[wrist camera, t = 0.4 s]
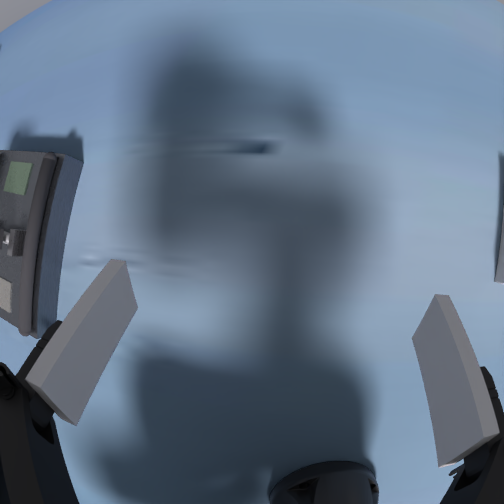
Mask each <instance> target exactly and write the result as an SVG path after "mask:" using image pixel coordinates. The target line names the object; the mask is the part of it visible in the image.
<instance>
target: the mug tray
mask: <svg viewBox="0 0 504 504" xmlns="http://www.w3.org/2000/svg"><path fill="white" fill-rule="evenodd" d="M494 282H497V283H500V284H503V285H504V207H503V222H502V233H501V242H500V250H499V258H498V264H497V270H496V276H495V281H494Z"/></svg>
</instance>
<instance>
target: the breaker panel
mask: <svg viewBox="0 0 504 504" xmlns="http://www.w3.org/2000/svg"><path fill="white" fill-rule="evenodd" d="M45 154H46V153H45V152H30V151H10V150H0V228H3V229H4V231H6V232H8V233H10V236H9V243H8V244H5V243H2V249H0V317H1V318H3V319H4V320H6V321H8V322H9V323H11V324H12V325H14V326H16V327H17V328H18V315H19V290H20V277H21V266H22V257H23V249H24V242H25V236H26V230H27V224H28V218H29V213H30V208H31V204H32V199H33V195H34V190H35V186H36V182H37V178H38V175H39V171H40V167H41V164H42V161H43V157H44V156H45ZM55 154H56V156H57V162H56V166H55V169H54V173H53V176H52V180H51V184H50V188H49V192H48V196H47V201H46V205H45V210H44V215H43V220H42V225H41V230H40V236H39V243H38V249H37V256H36V265H35V274H34V284H33V298H32V321H31V333H30V335H31V336H32V337H34V338H36V339H39V338H41V337H42V336H43V334H44V333H45V331H46V330H47V329H48V327H50V326H51V325H52V324H53V323H55V322H56V317H57V303H58V291H59V282H60V273H61V266H62V259H63V252H64V246H65V240H66V235H67V229H68V224H69V219H70V214H71V210H72V205H73V201H74V197H75V193H76V189H77V185H78V181H79V177H80V174H81V170H82V167H83V162H81V161H79V160H77V159H75V158H73V157H71V156H68V155H66V154H58V153H55Z"/></svg>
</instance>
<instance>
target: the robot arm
mask: <svg viewBox="0 0 504 504" xmlns="http://www.w3.org/2000/svg"><path fill="white" fill-rule="evenodd" d="M137 309H138V306H137V303H136V299H135V296H134V292H133V288H132V285H131V281H130V277H129V273H128V269H127V265H126V261H121V260H114V259H111V260H110V261H109V262H108V263H107V265H106V266H105V267H104V268H103V270H102V271H101V272H100V273H99V275H98V276H97V277H96V278H95V280H94V281H93V282H92V283H91V285H90V286H89V287H88V289H87V290H86V291H85V292H84V294H83V295H82V296H81V298H80V299H79V300H78V302H77V303H76V304H75V306H74V307H73V308H72V310H71V311H70V313H69V314H68V315H67V317H66V318H65V319H64V321H63V322H62V321H59V320H57V321H56V322H55V323H53V324H52V325H51V326H50V327H48V329H47V330H46V331H45V333H44V334H43V336H42V337H41V340H39V341H38V343H37V344H36V347H34V349H33V350H32V352H31V353H30V355H29V356H28V358H27V359H26V361H25V362H24V364H23V365H22V367H21V369H20V370H19V372H18V373H17V374H16V376H14V374H13V373H12V372H11V371H10V369H9V368H8V367H7V366H6V364H4V363H2V362H0V504H79V502H78V499H77V496H76V494H75V491H74V488H73V485H72V482H71V479H70V476H69V473H68V470H67V467H66V464H65V460H64V457H63V453H62V450H61V446H60V442H59V438H58V434H57V429H56V425H55V421H54V419H53V417H52V416H53V414H54V412H55V413H56V414H57V415H58V416H59V417H60V418H61V419H63V420H65V421H67V422H69V423H71V424H73V425H75V426H77V424H78V422H79V420H80V418H81V415H82V413H83V411H84V409H85V407H86V405H87V403H88V401H89V399H90V397H91V395H92V393H93V391H94V389H95V387H96V385H97V383H98V381H99V379H100V377H101V375H102V373H103V371H104V369H105V367H106V365H107V363H108V361H109V360H110V358H111V356H112V354H113V352H114V350H115V348H116V346H117V345H118V343H119V341H120V339H121V337H122V336H123V334H124V332H125V330H126V328H127V327H128V325H129V323H130V321H131V319H132V318H133V316H134V314H135V312H136V311H137ZM412 340H413V344H414V347H415V351H416V355H417V358H418V362H419V366H420V370H421V374H422V378H423V382H424V387H425V391H426V395H427V400H428V405H429V410H430V415H431V420H432V426H433V432H434V438H435V444H436V451H437V459H438V467H439V468H440V467H445V466H449V465H453V464H455V463H457V462H459V461H460V460H462V459H463V458H464V464H462V465H461V466H459V467H457V468H456V469H454V470H452V471H451V472H450V474H449V476H451V475H453V474H455V473H457V474H456V475H455V476H454V477H453V478H454V480H453V482H452V483H451V485H450V487H449V489H448V491H447V492H446V494H445V496H444V497H443V499H442V501H441V502H440V504H504V412H503V409H502V406H501V402H500V399H499V398H498V393H497V390H496V389H495V388H496V387H495V384H494V381H493V378H492V376H491V374H490V373H489V372H488V370H487V369H486V368H485V366H484V367H480V366H479V364H478V361H477V358H476V356H475V353H474V351H473V348H472V346H471V343H470V341H469V338H468V336H467V334H466V331H465V329H464V327H463V324H462V322H461V320H460V318H459V316H458V313H457V311H456V309H455V307H454V305H453V303H452V301H451V299H450V297H449V295H438V294H435V295H434V297H433V299H432V301H431V303H430V305H429V307H428V309H427V311H426V313H425V315H424V317H423V319H422V321H421V323H420V324H419V326H418V328H417V330H416V332H415V333H414V335H413V337H412ZM378 497H379V488H378V484H377V481H376V479H375V477H374V475H373V473H372V472H371V471H370V470H369V469H368V468H367V467H365V466H363V465H361V464H358V463H354V462H348V461H333V462H325V463H319V464H315V465H311V466H308V467H305V468H302V469H300V470H298V471H296V472H293V473H292V474H290V475H288V476H287V477H285V478H284V479H282V480H281V481H280V482H279V483H278V484H277V485H276V486H275V487H274V489H273V490H272V492H271V495H270V504H378Z"/></svg>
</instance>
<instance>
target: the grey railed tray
mask: <svg viewBox="0 0 504 504" xmlns="http://www.w3.org/2000/svg"><path fill="white" fill-rule="evenodd" d="M56 162H57V156H56V154H55V153H53V152H48V153H46V154H45V156H44V157H43V161H42V164H41V167H40V171H39V175H38V178H37V182H36V186H35V190H34V195H33V199H32V204H31V208H30V213H29V218H28V224H27V230H26V236H25V242H24V249H23V257H22V266H21V277H20V290H19V315H18V329H19V332H20V334H21V335H23V336H28V335H30V333H31V321H32V298H33V284H34V274H35V265H36V256H37V249H38V243H39V236H40V230H41V225H42V220H43V215H44V210H45V205H46V201H47V196H48V192H49V188H50V184H51V180H52V176H53V173H54V169H55V166H56Z"/></svg>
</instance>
